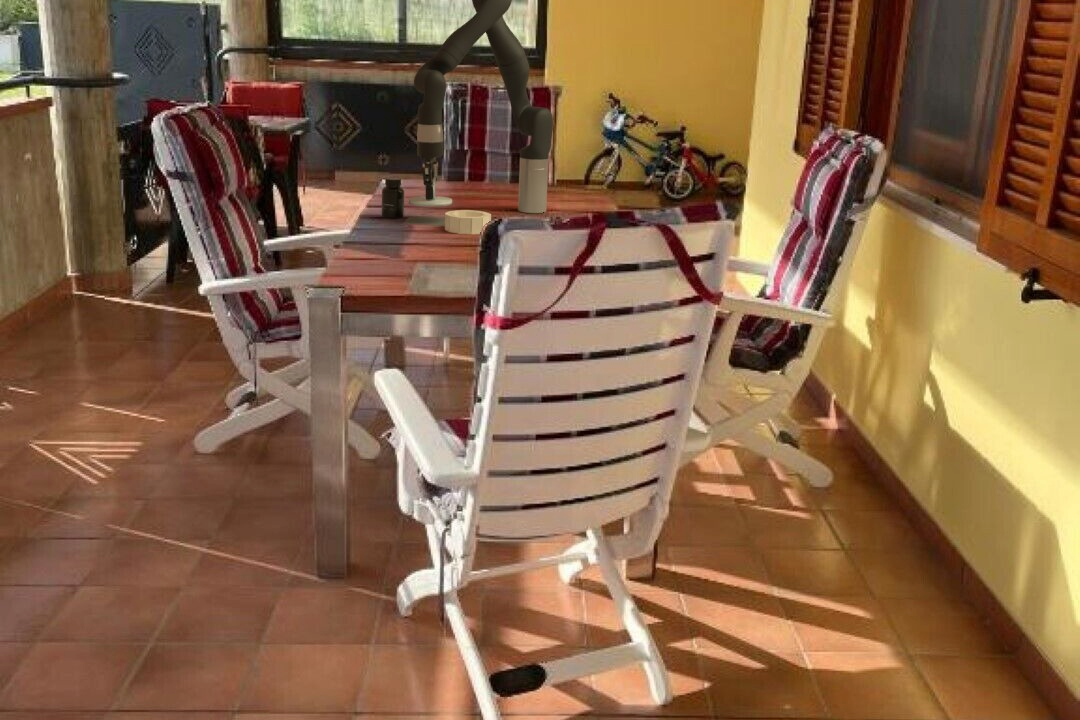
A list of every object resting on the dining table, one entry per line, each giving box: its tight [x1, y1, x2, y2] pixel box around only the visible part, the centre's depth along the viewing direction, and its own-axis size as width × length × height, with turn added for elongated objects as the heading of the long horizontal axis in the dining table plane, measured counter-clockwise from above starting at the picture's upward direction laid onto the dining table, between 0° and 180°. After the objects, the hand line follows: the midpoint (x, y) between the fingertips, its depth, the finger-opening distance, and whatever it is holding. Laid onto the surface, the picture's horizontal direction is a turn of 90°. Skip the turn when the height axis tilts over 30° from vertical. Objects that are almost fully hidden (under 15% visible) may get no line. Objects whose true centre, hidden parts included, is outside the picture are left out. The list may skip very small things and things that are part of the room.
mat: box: [402, 215, 445, 227], centre depth 318 cm, size 14×14×1 cm
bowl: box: [444, 209, 492, 235], centre depth 306 cm, size 13×13×5 cm
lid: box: [408, 183, 453, 208], centre depth 316 cm, size 13×13×6 cm
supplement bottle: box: [381, 177, 405, 220], centre depth 320 cm, size 7×7×12 cm
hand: (430, 197), depth 316 cm, fingers closed on lid, 2 cm apart
